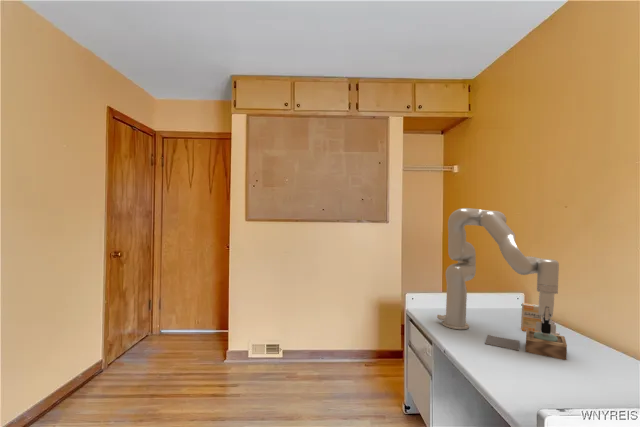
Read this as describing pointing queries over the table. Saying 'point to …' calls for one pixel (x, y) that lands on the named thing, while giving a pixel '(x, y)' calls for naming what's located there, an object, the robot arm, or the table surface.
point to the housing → (546, 346)
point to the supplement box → (530, 317)
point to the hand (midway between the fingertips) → (545, 331)
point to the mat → (502, 342)
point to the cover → (544, 335)
